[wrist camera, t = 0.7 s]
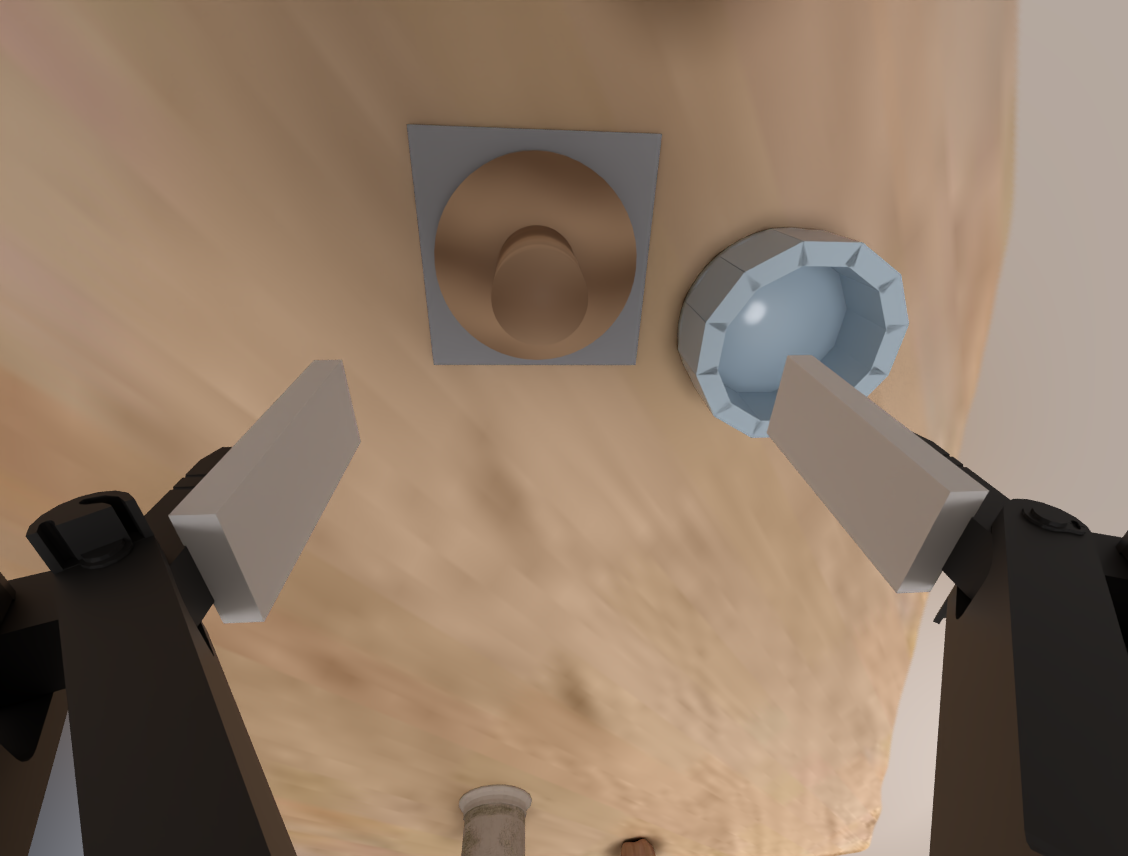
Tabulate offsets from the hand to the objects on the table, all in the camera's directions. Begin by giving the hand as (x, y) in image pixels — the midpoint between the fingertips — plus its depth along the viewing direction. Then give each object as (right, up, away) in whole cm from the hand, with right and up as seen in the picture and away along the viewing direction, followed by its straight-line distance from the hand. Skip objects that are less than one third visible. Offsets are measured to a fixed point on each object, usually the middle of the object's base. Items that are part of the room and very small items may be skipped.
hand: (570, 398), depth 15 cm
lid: (-2, +10, +16) cm, 18 cm away
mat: (-2, +10, +16) cm, 19 cm away
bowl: (+14, +6, +19) cm, 25 cm away
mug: (-11, -54, +53) cm, 77 cm away
